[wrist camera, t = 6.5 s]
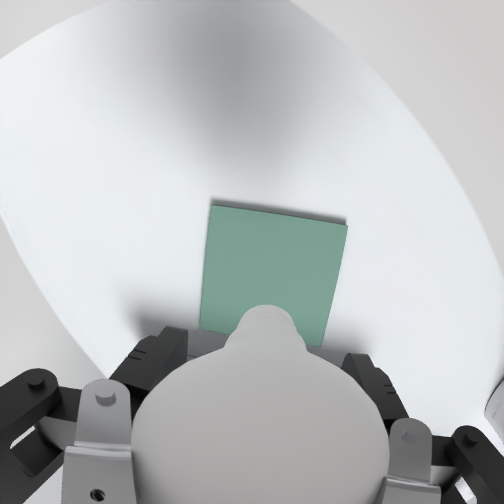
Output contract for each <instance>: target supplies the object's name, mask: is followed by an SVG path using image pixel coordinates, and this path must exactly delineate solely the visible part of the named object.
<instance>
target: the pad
mask: <svg viewBox="0 0 504 504" xmlns="http://www.w3.org/2000/svg"><path fill="white" fill-rule="evenodd" d="M347 229H348V226H347V225H342V224H337V223H331V222H325V221H319V220H313V219H307V218H301V217H295V216H288V215H282V214H275V213H268V212H261V211H255V210H247V209H240V208H233V207H225V206H218V205H211V210H210V219H209V228H208V237H207V246H206V256H205V267H204V278H203V289H202V301H201V314H200V328H199V329H201V330H207V331H212V332H217V333H223V334H228V335H231V334H232V333H233V332H234V331H235V330H236V329H237V326H238V324H239V322H240V320H241V318H242V316H243V315H244V314H245V313H246V312H247V311H248V310H250V309H251V308H253V307H255V306H259V305H274V306H278V307H280V308H282V309H284V310H285V311H286V312H287V313H288V314H289V315H290V316H291V318H292V319H293V322H294V325H295V327H296V330H297V332H298V334H299V335H300V336H301V337H302V339H303V341H304V343H305V345H306V346H314V347H321V343H322V339H323V336H324V332H325V328H326V325H327V321H328V317H329V313H330V309H331V305H332V301H333V296H334V292H335V288H336V283H337V279H338V274H339V270H340V265H341V260H342V255H343V250H344V245H345V240H346V235H347Z"/></svg>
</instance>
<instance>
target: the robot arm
mask: <svg viewBox="0 0 504 504" xmlns="http://www.w3.org/2000/svg"><path fill="white" fill-rule="evenodd" d="M187 342H188V332H187V330H185V329H180V328H176V327H171V326H166V327H165V328H164V330H163V331H162V332H161V334H160V335H159V336H158V337H155V336H149V337H147V338H145V339H143V340H141V341H139V343H138V344H137V345H136V346H135V347H134V349H133V350H132V351H131V352H130V353H129V355H128V357H126V358H125V359H124V361H123V362H122V363H121V364H120V366H119V367H118V368H117V369H116V370H115V372H114V373H113V374H112V375H111V377H110V378H109V379H99V380H95V381H92V382H90V383H88V384H87V385H86V386H85V387H84V388H83V390H79V389H73V388H67V387H61V386H59V385H58V381H57V378H56V376H55V375H54V374H53V373H52V372H50V371H48V370H45V369H40V368H37V369H30V370H27V371H25V372H23V373H22V374H20V375H18V376H17V377H15V378H14V379H12V380H11V381H9V382H7V383H6V384H4V385H3V386H1V387H0V504H23V503H24V502H25V501H26V500H27V499H28V498H29V497H30V496H31V495H32V494H33V493H34V492H35V491H36V490H37V489H38V488H39V487H40V486H41V485H42V484H43V483H44V482H45V481H46V480H48V478H50V477H51V476H52V475H53V474H54V473H55V472H56V471H57V470H58V469H59V468H60V467H61V466H62V465H63V477H62V500H61V502H62V503H61V504H140V501H139V499H140V497H141V496H140V491H139V487H138V483H137V477H136V471H135V465H134V458H133V450H132V448H131V432H132V422H133V420H134V418H135V415H136V413H137V411H138V409H139V408H140V406H141V404H142V403H143V401H144V399H145V397H146V396H147V395H148V394H149V393H150V392H151V391H152V390H153V389H154V388H155V387H156V386H157V385H158V384H159V383H160V382H161V381H162V380H163V379H164V378H165V377H167V376H168V375H169V374H170V373H171V372H172V371H174V370H175V369H177V368H179V367H180V366H182V365H183V364H185V363H187ZM341 370H343V371H344V372H346V373H347V374H348V375H350V376H351V377H353V379H354V380H355V381H356V382H357V383H358V384H359V386H360V387H361V388H362V389H363V390H364V391H365V393H366V394H367V395H368V396H369V397H370V399H371V400H372V401H373V402H374V403H375V405H376V406H377V408H378V411H379V413H380V416H381V418H382V421H383V423H384V426H385V429H386V431H387V434H388V441H389V452H390V458H389V466H388V473H387V477H386V476H385V477H384V479H383V482H382V484H381V487H380V489H379V492H378V494H377V497H376V499H375V501H374V503H373V504H467V503H466V502H465V500H464V499H463V497H462V496H461V494H460V493H459V491H458V490H457V488H456V487H455V485H454V484H455V483H456V482H457V481H458V480H459V479H460V478H461V477H463V479H464V480H465V481H466V483H467V484H468V486H469V487H470V489H471V490H472V492H473V493H474V495H475V496H476V498H477V504H504V457H503V456H502V455H501V454H500V452H499V451H498V450H497V449H496V448H495V446H494V445H493V444H492V443H491V442H490V441H489V439H488V438H487V437H486V436H485V435H484V434H483V433H482V432H481V431H480V430H479V429H477V428H475V427H473V426H468V425H465V426H460V427H458V428H457V429H456V430H455V432H454V433H453V435H452V436H451V437H444V436H435V435H432V433H431V431H430V429H429V428H428V427H427V426H426V425H425V424H424V423H423V422H421V421H419V420H416V419H413V418H409V416H408V414H407V412H406V410H405V408H404V406H403V404H402V402H401V400H400V398H399V396H398V394H396V390H395V388H394V387H392V383H391V381H390V379H389V377H388V375H386V374H385V373H384V372H383V371H382V370H381V369H380V368H375V367H374V365H373V363H372V361H371V359H370V357H369V355H368V354H356V353H348V354H347V355H346V357H345V359H344V362H343V365H342V368H341ZM485 417H486V419H487V420H488V421H489V423H490V424H491V426H492V427H493V428H494V430H495V431H496V433H497V434H498V436H499V437H500V439H501V440H502V442H503V443H504V380H503V381H502V382H501V383H500V385H499V386H498V388H497V389H496V390H495V392H494V393H493V395H492V397H491V398H490V400H489V402H488V404H487V407H486V410H485ZM33 425H34V427H35V430H34V431H32V432H31V433H30V434H29V435H27V436H26V437H25V438H24V439H22V440H21V441H20V442H19V443H18V444H16V445H15V446H14V447H13V448H12V449H10V446H11V444H12V442H13V441H14V440H16V439H17V438H18V437H19V436H21V435H22V434H23V433H24V432H26V431H27V430H28V429H29V428H31V427H32V426H33Z"/></svg>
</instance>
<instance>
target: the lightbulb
mask: <svg viewBox="0 0 504 504" xmlns="http://www.w3.org/2000/svg"><path fill="white" fill-rule="evenodd" d="M131 448H132V450H133V458H134V465H135V471H136V477H137V483H138V487H139V491H140V496H141V497H140V499H139V501H140V504H373V503H374V501H375V499H376V497H377V494H378V492H379V489H380V487H381V484H382V482H383V479H384V477H385V476H386V477H387V473H388V466H389V458H390V452H389V441H388V434H387V431H386V429H385V426H384V423H383V421H382V418H381V416H380V413H379V411H378V408H377V406H376V405H375V403H374V402H373V401H372V400H371V399H370V397H369V396H368V395H367V394H366V393H365V391H364V390H363V389H362V388H361V387H360V386H359V384H358V383H357V382H356V381H355V380H354V379H353V377H351V376H350V375H348V374H347V373H346V372H344V371H343V370H341V369H340V368H339V367H337V366H336V365H334V364H332V363H330V362H328V361H326V360H324V359H322V358H320V357H318V356H316V355H314V354H311V353H309V352H307V348H306V345H305V343H304V341H303V339H302V337H301V336H300V335H299V334H298V332H297V330H296V327H295V325H294V322H293V319H292V318H291V316H290V315H289V314H288V313H287V312H286V311H285V310H284V309H282V308H280V307H278V306H274V305H259V306H255V307H253V308H251V309H250V310H248V311H247V312H246V313H245V314H244V315H243V316H242V318H241V320H240V322H239V324H238V326H237V329H236V330H235V331H234V332H233V333H232V334H231V335H230V336H229V338H228V339H227V341H226V343H225V345H224V348H221V349H218V350H216V351H213V352H211V353H208V354H206V355H203V356H201V357H198V358H196V359H193V360H190V361H188V362H187V363H185V364H183V365H182V366H180V367H179V368H177V369H175V370H174V371H172V372H171V373H170V374H169V375H168V376H167V377H165V378H164V379H163V380H162V381H161V382H160V383H159V384H158V385H157V386H156V387H155V388H154V389H153V390H152V391H151V392H150V393H149V394H148V395H147V396H146V397H145V399H144V401H143V403H142V404H141V406H140V408H139V409H138V411H137V413H136V415H135V418H134V420H133V422H132V432H131Z"/></svg>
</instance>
